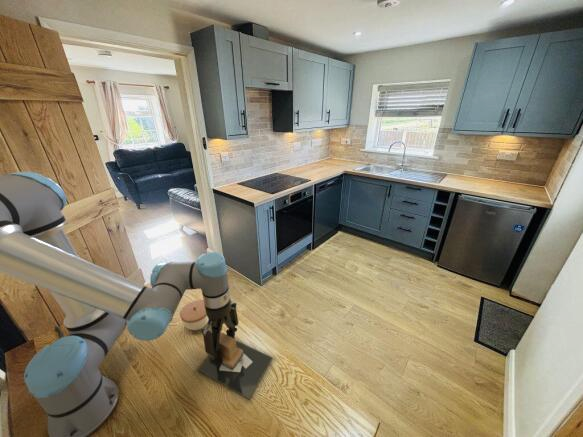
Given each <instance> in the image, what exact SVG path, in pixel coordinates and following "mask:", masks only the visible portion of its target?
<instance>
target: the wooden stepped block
mask: <svg viewBox="0 0 583 437" xmlns="http://www.w3.org/2000/svg"><path fill="white" fill-rule="evenodd" d="M236 341H237V339H236V338H235V339H234V338H232V337H230V336H228V335H227V333H226V334H225V333H224V332H222V331H221V332H220V339H219V348H221V354H222V360H223V362H222V363H220V364H222V365H223V366H225V367H227V368H229V369H231V370H233V369H234V368H235V367H236V365H237V364H238V362H239V361H240V359H241V358H242V357H243V355H244V354H243V350H242V349H240V348H238V347H237V346H236ZM208 357H209V358H211V359H212V360H214V361H215V358H214V357H213V356H212V355H210V354H208ZM216 362H217V361H216ZM218 363H219V362H218Z"/></svg>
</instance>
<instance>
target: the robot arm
mask: <svg viewBox="0 0 583 437" xmlns="http://www.w3.org/2000/svg"><path fill="white" fill-rule="evenodd" d="M67 200H68V199H67V195H66V193H65V191H64V189H62V187H61V186H60V185H59V184H58V183H57V182H55V181H54V180H53V179H51V178H50V177H45V176H44V174H40V173H38V172H33V171H18V172H12V173H4V174H0V273H1V274H4V275H7V276H9V277H11V278H15V279H17V280H20V281H22V282H25V283H28V284H31V285H33V286H35V287H37V288H38V287H39V288H41V289H43V290H45V291H49V293H50V294H51V296H52V297H53V298H54V300H55V301H56V302H57V304H58V306H59V307H60V309H61V310H62V311H63V313H64V314H65V317H64V319H63V326H64V327H65V329H66V330H67V331H68V334H66V336H63V335H64V334H63V332H62V330H61V328H60V327H59V326H58V325H55V327H54V329H55V331H56V332H57V334H58V338H56V339H55V340H53V341H52V343H51V344H46V345H44V347H42V348H41V349H40V350H39V351H37V353H35V355H34V356H33V357H32V358H31V359H30V361H29V362H28V364H27V366H26V367H25V369H24V373H23V380H24V383H25V385H26V387H27V390H28V392H29V395H31V396H32V397H34V398H35V400H36V401H37V402H38V404H39V405H40V406H41V408H42V410H44V411H45V413H46V414H47V427H46V428H47V433H48V436H49V437H90V436H91V435H92V434H94V433H95V432H96V431H97V430H99V429H100V428H101V427H102V426H103V425H104V424H105V423H106V422H107V421H108V419H109V418H110V417H111V416H112V414H113V412H114V411H115V410H116V407H117V406H118V402H119V399H120V390H119V387H118V386H117V384H116V382H115V381H114V380H112V379H110V378H108V377H107V376H104V375H102V373H101V371H100V369H99V368H100V365H101V364H102V362H103V361H104V360H105V358H106V356H107V355H108V354H109V352H110V351H111V350H112V348H113V346H114V345H115V343H116V342H117V341H118V339H119V338H120V337H121V335H122V334H123V332H124V331H125V330H126V327H127V331H128V333H129V334H130V335H131V336H133V337H134V338H135V339H136V340H139V341H144V342H145V341H146V342H148V341H154V340H157V339H159V338H160V337H162V336H163V334H165V332H166V330H167V329H168V327H169V326H170V324H171V322H172V321H173V318H174V315H175V313H176V311H177V308H178V306H179V304H180V301H181V300H182V299H183V297H184V294H185V293H186V291H187V290H189V291H190V290H201V294H202V300H204V304H205V311H206V315H207V317H208V319H209V320H208V322H207V325H206V327H205V328H204V327H203V328H202V329H200V330H201V331H200V333H201V335H202V336H203V343H204V344H203V345H204V352H205V353H206V354H208V355H209V354H210V355H212V356H213V357H214V358H215V361H217V362H219V363H222V362H223V360H222V354H221V348H219V339H220V332H222V331H223V325H225V326H226V328H227V329H226V330H225V331H226V335H228V336H230V337H232V338H234V339H236V337H235V336H236V332H237V331H238V328H237V326H239V317H238V312H237V303H236V302H235V301H232V300H231V294H230V293H231V292H230V285H229V278H228V267H227V263H226V258H225V257H224V255H223V254H221V253H219V252H216V251H210V252H207V253H203V254H201V255H200V256H199V257H198V258H197V260H196V261H169V262H162V263H161V262H160V263H158V264H156V265H154V267H153V268H152V271H151V274H150V280H149V282H150V286H151V287H148V286H146V285H143V284H141V283H138V282H136V281H134V280H131V279H130V278H127V277H125V276H123V275H120V274H117V273H116V272H114V271H111V270H108V269H107V268H104V267H102V266H100V265H98V264H95V263H93V262H90V261H89V260H86V259H84V258H81V257H80V256H79V254H78V253H77V251H76V249H75V248H74V246H73V244H72V242H71V241H70V239H69V237H68V236H67V234H66V232H65V231H64V229H63V228H64V226H65V224H66V223H67V219H66V218H65V216H64V214H63V212H62V211H63V210H64V209H65V207H66V204H67Z"/></svg>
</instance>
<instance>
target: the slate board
mask: <svg viewBox="0 0 583 437" xmlns="http://www.w3.org/2000/svg"><path fill="white" fill-rule="evenodd" d="M236 346H237V347H238V348H240V349H242V350H243V354H244V355H243V357H242V358H241V359H240V361H239V362H238V364H237V365H236V367H235V368H234V369H233V370H231V369H229V368H227V367H225V366H223V365H222V364H220V363H218V362H216V361H214V360H212V359H211V358H209V356H208V357H207V358H206V359H205V360H204V361H203V363H201V365H200V366H199V368H197V371H198V372H200V373H201V374H203V375H205V376H206V377H208V378H210V379H212V380H214V381H215V382H218V384H221V385H222V386H224V387H226V388H228V389H229V390H231V391H233V392H235V393H237V394H238V395H239V396H242V397H243V398H245V399H247V400H250V399H251V397H252V396H253V395H254V393H255V391H256V389H257V387H258V385H259V383H260V382H261V381H262V378H263V377H264V375H265V373H266V372H267V370H268V368H269V366H270V364H271V362H272V361H273V357H272V356H270V355H267V354H265V353H263V352H261V351H259V350H258V349H255V348H253V347H251V346H248V345H246V344H245V343H242V342H240V341H238V340H236Z"/></svg>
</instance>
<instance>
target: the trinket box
mask: <svg viewBox="0 0 583 437" xmlns="http://www.w3.org/2000/svg"><path fill="white" fill-rule="evenodd" d="M179 316H180V319H181V322H182V324H183V326H184V327H185V328H186V329H188V330H190V331H200V330H202V329H203V328H204V327H205V326H207V325H208V320H209V319H208V317H207V315H206V311H205V304H204V300H203V299H195V300H191V301H189V302H188V303H186V304H185V305H184V306H182V308H181V309H180V312H179Z"/></svg>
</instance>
